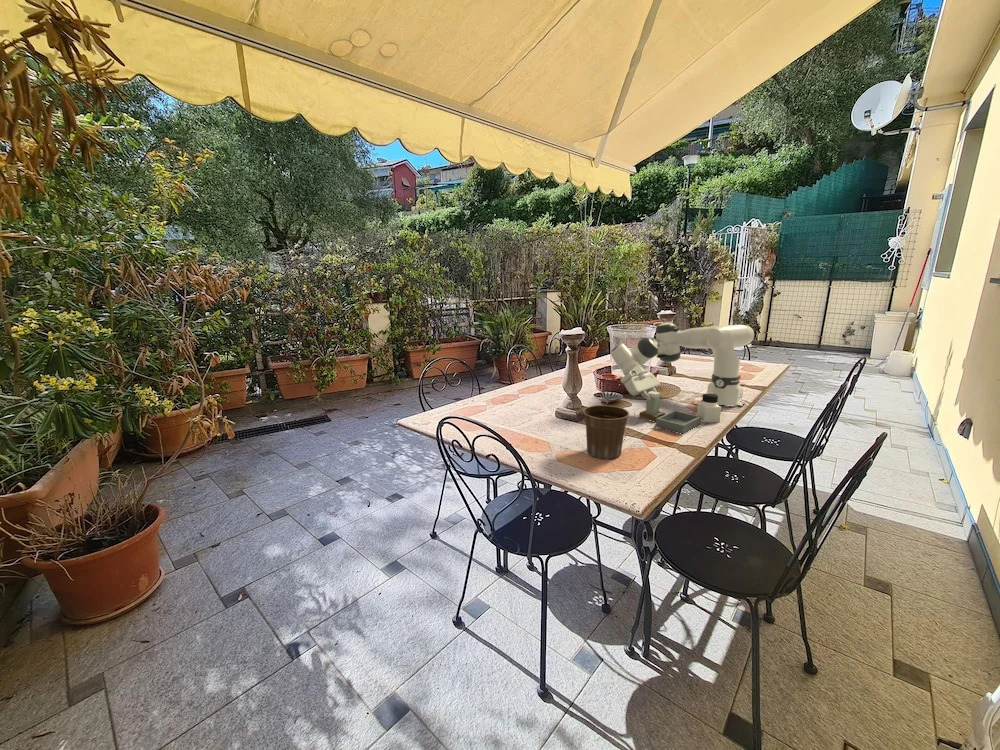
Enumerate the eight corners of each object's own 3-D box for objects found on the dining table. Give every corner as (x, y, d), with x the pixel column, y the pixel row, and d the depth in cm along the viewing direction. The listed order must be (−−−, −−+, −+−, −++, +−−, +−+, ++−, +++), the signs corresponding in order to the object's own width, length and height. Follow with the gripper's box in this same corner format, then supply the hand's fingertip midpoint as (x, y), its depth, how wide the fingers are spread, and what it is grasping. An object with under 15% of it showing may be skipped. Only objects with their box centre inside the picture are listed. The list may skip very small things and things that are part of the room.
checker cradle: (648, 413, 194) (648, 407, 193) (664, 418, 188) (665, 412, 187) (639, 417, 189) (639, 411, 188) (655, 422, 183) (656, 416, 182)
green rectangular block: (650, 415, 191) (651, 390, 188) (658, 418, 188) (660, 392, 185) (645, 417, 188) (647, 392, 186) (653, 420, 185) (655, 394, 183)
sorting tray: (674, 418, 187) (674, 410, 186) (700, 425, 178) (701, 416, 178) (655, 426, 177) (656, 418, 176) (682, 434, 168) (683, 425, 168)
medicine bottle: (719, 422, 181) (722, 396, 178) (703, 422, 181) (706, 396, 178) (711, 416, 188) (714, 391, 185) (696, 417, 188) (698, 391, 185)
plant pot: (594, 440, 164) (595, 402, 160) (633, 450, 154) (636, 409, 150) (573, 454, 152) (574, 413, 148) (615, 466, 142) (617, 422, 138)
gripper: (643, 374, 200) (660, 397, 195) (618, 381, 187) (636, 407, 182) (652, 366, 195) (670, 390, 190) (627, 373, 182) (646, 399, 177)
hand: (653, 398), depth 186 cm, fingers closed on green rectangular block, 4 cm apart
